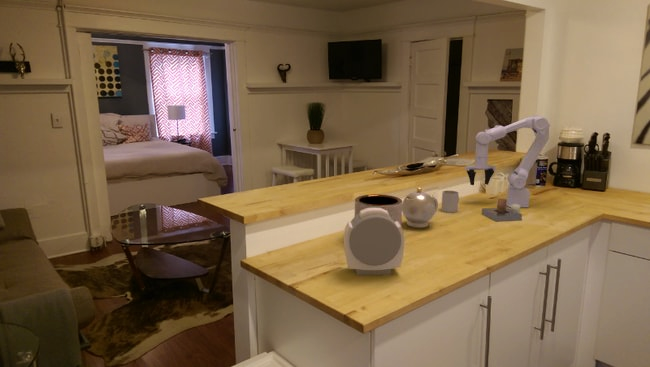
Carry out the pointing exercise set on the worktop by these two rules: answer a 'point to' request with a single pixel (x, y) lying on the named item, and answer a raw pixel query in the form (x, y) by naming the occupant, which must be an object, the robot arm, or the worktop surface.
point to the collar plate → (501, 214)
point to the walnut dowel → (501, 205)
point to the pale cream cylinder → (515, 208)
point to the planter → (381, 205)
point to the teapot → (419, 208)
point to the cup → (450, 201)
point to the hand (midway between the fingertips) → (479, 184)
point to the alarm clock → (373, 242)
